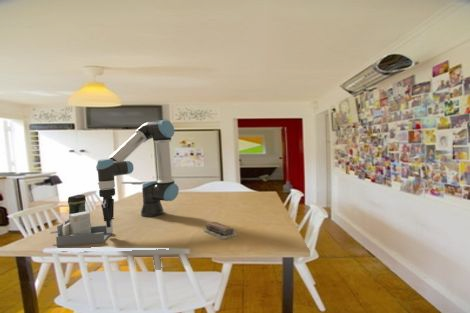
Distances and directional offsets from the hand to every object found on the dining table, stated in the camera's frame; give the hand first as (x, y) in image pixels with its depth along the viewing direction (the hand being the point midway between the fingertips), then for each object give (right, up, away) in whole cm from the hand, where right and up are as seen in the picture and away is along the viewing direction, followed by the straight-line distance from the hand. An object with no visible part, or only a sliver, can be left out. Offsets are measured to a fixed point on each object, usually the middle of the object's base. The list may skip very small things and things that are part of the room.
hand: (109, 232), depth 137 cm
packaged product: (+59, -2, +1) cm, 59 cm away
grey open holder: (-23, -2, -4) cm, 24 cm away
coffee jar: (-32, -3, +25) cm, 41 cm away
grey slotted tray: (-11, -3, -2) cm, 11 cm away
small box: (-14, -3, -2) cm, 15 cm away
